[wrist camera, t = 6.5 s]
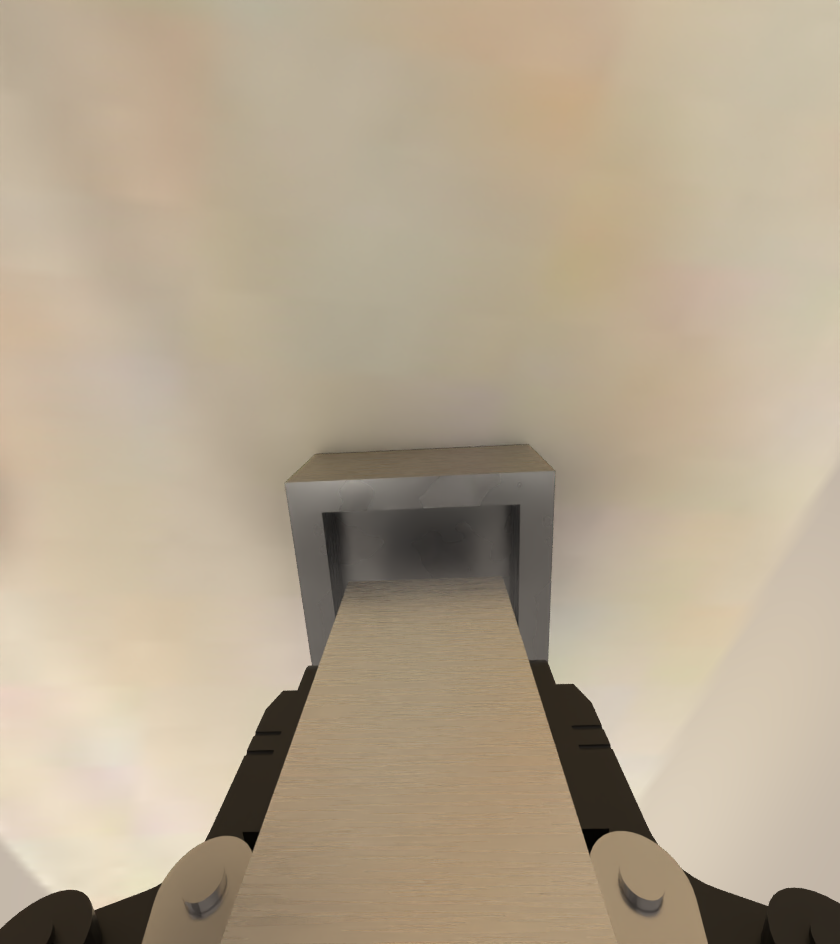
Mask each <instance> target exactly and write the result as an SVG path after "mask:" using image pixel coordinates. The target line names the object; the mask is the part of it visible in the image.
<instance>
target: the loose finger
mask: <svg viewBox="0 0 840 944" xmlns="http://www.w3.org/2000/svg"><path fill="white" fill-rule="evenodd" d="M220 944H617V941H616V938H615V935H614V932H613V929H612V926H611V922H610V919H609V916H608V913H607V910H606V906H605V903H604V900H603V897H602V894H601V890H600V887H599V884H598V881H597V878H596V874H595V871H594V868H593V865H592V862H591V858H590V855H589V852H588V849H587V846H586V842H585V839H584V836H583V833H582V830H581V826H580V823H579V820H578V817H577V814H576V810H575V807H574V804H573V801H572V798H571V794H570V791H569V788H568V785H567V782H566V779H565V775H564V772H563V769H562V766H561V763H560V759H559V756H558V753H557V750H556V747H555V743H554V740H553V737H552V734H551V731H550V727H549V724H548V721H547V718H546V715H545V711H544V708H543V705H542V702H541V699H540V695H539V692H538V689H537V686H536V683H535V679H534V676H533V673H532V670H531V667H530V663H529V660H528V657H527V654H526V651H525V647H524V644H523V641H522V638H521V635H520V632H519V628H518V625H517V622H516V619H515V616H514V612H513V609H512V606H511V603H510V600H509V596H508V593H507V590H506V587H505V584H504V580H503V577H502V576H497V577H468V578H440V579H412V580H384V581H356V582H348V585H347V587H346V590H345V593H344V596H343V599H342V601H341V604H340V607H339V610H338V613H337V616H336V618H335V621H334V624H333V627H332V630H331V633H330V635H329V638H328V641H327V644H326V647H325V649H324V652H323V655H322V658H321V661H320V664H319V666H318V669H317V672H316V675H315V678H314V680H313V683H312V686H311V689H310V692H309V695H308V697H307V700H306V703H305V706H304V709H303V712H302V714H301V717H300V720H299V723H298V726H297V728H296V731H295V734H294V737H293V740H292V743H291V745H290V748H289V751H288V754H287V757H286V760H285V762H284V765H283V768H282V771H281V774H280V776H279V779H278V782H277V785H276V788H275V791H274V793H273V796H272V799H271V802H270V805H269V807H268V810H267V813H266V816H265V819H264V822H263V824H262V827H261V830H260V833H259V836H258V839H257V841H256V844H255V847H254V850H253V853H252V855H251V858H250V861H249V864H248V867H247V870H246V872H245V875H244V878H243V881H242V884H241V887H240V889H239V892H238V895H237V898H236V901H235V903H234V906H233V909H232V912H231V915H230V918H229V920H228V923H227V926H226V929H225V932H224V934H223V937H222V940H221V943H220Z"/></svg>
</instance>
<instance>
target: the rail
mask: <svg viewBox="0 0 840 944" xmlns="http://www.w3.org/2000/svg"><path fill="white" fill-rule="evenodd" d="M285 488H286V495H287V501H288V508H289V515H290V521H291V528H292V535H293V541H294V548H295V555H296V561H297V568H298V575H299V581H300V588H301V595H302V602H303V608H304V615H305V622H306V628H307V635H308V642H309V648H310V655H311V662H312V665H319V664H320V661H321V658H322V655H323V652H324V649H325V647H326V644H327V641H328V638H329V635H330V633H331V630H332V627H333V624H334V621H335V618H336V616H337V613H338V610H339V607H340V604H341V601H342V599H343V596H344V593H345V590H346V587H347V585H348V582H356V581H384V580H412V579H440V578H468V577H497V576H502V577H503V580H504V584H505V587H506V590H507V593H508V596H509V600H510V603H511V606H512V609H513V612H514V616H515V619H516V622H517V625H518V628H519V632H520V635H521V638H522V641H523V644H524V647H525V651H526V654H527V657H528V660H546V661H547V663H548V649H549V623H550V596H551V570H552V543H553V517H554V490H555V470H554V469H553V468H552V467H551V466H550V465H549V464H548V463H547V462H546V461H545V460H544V459H543V458H542V457H541V456H540V455H539V454H538V453H537V452H536V451H535V450H534V449H533V448H532V447H531V446H530V445H529V444H525V445H504V446H482V447H461V448H440V449H418V450H397V451H376V452H354V453H333V454H315V455H314V456H313V457H312V458H311V459H310V460H308V461H307V462H306V463H305V464H304V465H303V466H302V467H301V468H300V469H299V470H298V471H297V472H296V473H295V474H294V475H292V476H291V477H290V478H289V479H288V480H287V481H286V482H285Z"/></svg>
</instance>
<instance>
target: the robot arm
mask: <svg viewBox="0 0 840 944" xmlns="http://www.w3.org/2000/svg"><path fill="white" fill-rule="evenodd" d="M529 663H530V667H531V670H532V673H533V676H534V679H535V683H536V686H537V689H538V692H539V695H540V699H541V702H542V705H543V708H544V711H545V715H546V718H547V721H548V724H549V727H550V731H551V734H552V737H553V740H554V743H555V747H556V750H557V753H558V756H559V759H560V763H561V766H562V769H563V772H564V775H565V779H566V782H567V785H568V788H569V791H570V794H571V798H572V801H573V804H574V807H575V810H576V814H577V817H578V820H579V823H580V826H581V830H582V833H583V836H584V839H585V842H586V846H587V849H588V852H589V855H590V858H591V862H592V865H593V868H594V871H595V874H596V878H597V881H598V884H599V887H600V890H601V894H602V897H603V900H604V903H605V906H606V910H607V913H608V916H609V919H610V922H611V926H612V929H613V932H614V935H615V938H616V941H617V944H840V903H838V902H836V901H834V900H832V899H830V898H829V897H827V896H824V895H822V894H819V893H817V892H814V891H811V890H807V889H802V888H786V889H783V890H780V891H778V892H777V893H776V894H775V895H773V897H772V899H771V900H770V902H769V906H766V905H763V904H760V903H757V902H754V901H752V900H749V899H746V898H743V897H740V896H737V895H734V894H731V893H728V892H726V891H723V890H720V889H717V888H714V887H712V886H710V885H707V884H705V883H703V882H701V881H699V880H698V879H696V878H694V877H692V876H691V875H690V874H688V873H687V872H685V871H684V870H683V869H682V868H681V867H680V866H679V865H678V863H677V862H676V861H675V860H674V859H673V858H672V857H671V856H670V855H669V854H668V853H667V852H666V851H665V850H664V849H662V848H661V847H660V846H659V845H658V844H657V842H656V841H655V839H654V838H653V836H652V834H651V832H650V831H649V828H648V826H647V824H646V822H645V820H644V818H643V815H642V813H641V811H640V809H639V807H638V804H637V802H636V800H635V798H634V796H633V793H632V791H631V789H630V787H629V785H628V782H627V780H626V778H625V776H624V773H623V771H622V769H621V767H620V765H619V762H618V760H617V758H616V756H615V754H614V751H613V749H611V747H610V743H609V740H608V738H607V736H606V734H605V732H604V730H602V725H601V723H600V720H599V718H598V716H597V714H596V712H595V709H594V707H593V705H592V703H591V702H590V701H589V700H588V699H587V698H586V696H585V695H584V694H583V693H582V692H581V691H580V690H579V689H578V688H577V687H576V686H575V685H574V684H555V681H554V678H553V675H552V673H551V670H550V667H549V665H548V663H547V661H546V660H529ZM318 666H319V665H312V666H308V667H307V668H306V670H305V672H304V675H303V678H302V680H301V683H300V685H299V688H298V690H295V691H283V692H282V693H281V694H280V695H279V696H278V697H277V698H276V699H275V700H274V701H273V702H272V703H271V705H270V706H269V707H268V708H267V709H266V710H265V712H264V714H263V717H262V719H261V721H260V723H259V725H258V728H257V730H256V734H255V736H253V739H252V741H251V743H250V745H249V747H248V749H247V755H246V756H244V758H243V760H242V763H241V765H240V767H239V769H238V771H237V773H236V776H235V778H234V780H233V782H232V784H231V787H230V789H229V791H228V793H227V795H226V798H225V800H224V802H223V804H222V806H221V808H220V811H219V813H218V815H217V817H216V819H215V822H214V824H213V826H212V828H211V830H210V832H209V834H208V836H207V838H206V840H205V842H203V843H201V844H199V845H198V846H196V847H195V848H193V849H192V850H190V851H189V852H188V853H187V854H186V855H184V856H183V857H182V858H181V859H180V860H179V861H178V862H177V863H176V864H175V866H174V867H173V868H172V869H171V871H170V872H169V873H168V875H167V876H166V878H165V879H164V881H163V882H162V883H161V884H159V885H158V886H156V887H154V888H152V889H149V890H147V891H145V892H142V893H139V894H137V895H134V896H131V897H129V898H126V899H123V900H121V901H118V902H115V903H113V904H110V905H107V906H105V907H102V908H99V909H97V910H94V909H93V906H92V904H91V902H90V900H89V898H88V896H86V895H85V894H84V893H83V892H80V891H77V890H64V891H59V892H56V893H53V894H50V895H48V896H46V897H43V898H42V899H40V900H38V901H36V902H35V903H32V904H31V905H29V906H28V907H27V908H25V909H24V910H22V911H21V912H19V913H18V914H17V915H16V916H14V917H13V918H12V919H11V920H10V921H8V922H7V923H6V924H5V925H4V926H3V927H2V928H1V929H0V944H220V943H221V940H222V937H223V934H224V932H225V929H226V926H227V923H228V920H229V918H230V915H231V912H232V909H233V906H234V903H235V901H236V898H237V895H238V892H239V889H240V887H241V884H242V881H243V878H244V875H245V872H246V870H247V867H248V864H249V861H250V858H251V855H252V853H253V850H254V847H255V844H256V841H257V839H258V836H259V833H260V830H261V827H262V824H263V822H264V819H265V816H266V813H267V810H268V807H269V805H270V802H271V799H272V796H273V793H274V791H275V788H276V785H277V782H278V779H279V776H280V774H281V771H282V768H283V765H284V762H285V760H286V757H287V754H288V751H289V748H290V745H291V743H292V740H293V737H294V734H295V731H296V728H297V726H298V723H299V720H300V717H301V714H302V712H303V709H304V706H305V703H306V700H307V697H308V695H309V692H310V689H311V686H312V683H313V680H314V678H315V675H316V672H317V669H318Z"/></svg>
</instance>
